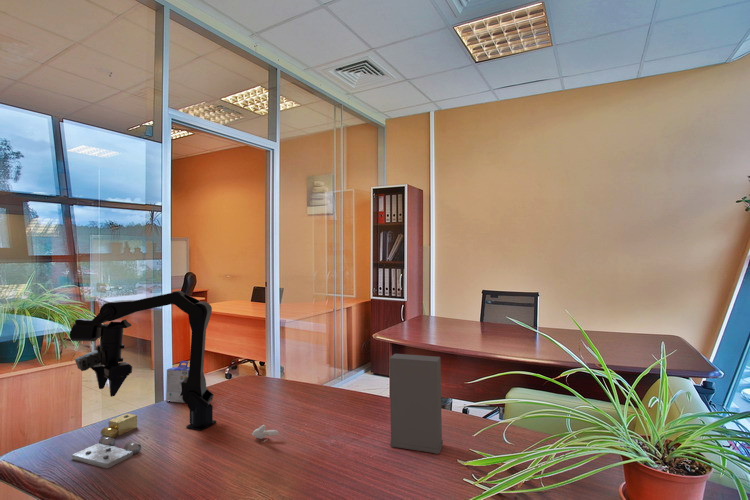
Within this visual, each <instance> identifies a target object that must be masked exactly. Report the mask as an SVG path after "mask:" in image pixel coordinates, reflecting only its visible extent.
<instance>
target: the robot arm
mask: <svg viewBox="0 0 750 500" xmlns="http://www.w3.org/2000/svg"><path fill="white" fill-rule="evenodd" d="M169 305H175V306H176V307H177V308H178V309H179V310H180V311H181V312H183V313H186V314H187V315H188V323H189V327H190V329H191V335H190V336H191V338H190V351H189V352H190V353H189V354H190V355H189V364H188V365H189V366H188V367H189V376H188V377H187V378H186V379H185V380H184V381H183V382H182V383H181V387H182V392H181V394H180V396H182V395H183V396H182V399H183V402H185V404H186V405H187V407H188V409H189V424H187V425H186V429H192V430H197V431H203V430H205V429H207V428H209V427H211V426H213V425H214V424H216V423H217V420H214V419H213V410H214V409H213V405H212V401H213V399H214V395H215V394H214V393H213V392H212V391H210V390H209V389H208V388H207V381H206V377H205V373H204V367H205V365H204V364H205V353H206V352H205V351H206V339H207V338H206V335H207V328H208V326H209V322H210V320H211V315H212V310H213V307H212V305H211V304H210V303H209V302H208V301H200V300H199V299H197V298H195V297H193V296H191V295H188V294H186V293H185V292H184V291H181V290H175V291H172V292H170V293H164V294H160V295H155V296H150V297H146V298H145V297H144V298H140V299H124V300H123V299H122V300H120V299H119V300H115V301H110V302H105V303H104V304H102V306H100V310H99V312H98V313H97V314H96V315H95V317H94V318H92V319H90V318H89V319H87V318H77V319H75V323H74V324H73V325H72V327H71V329H70V331H69V338H70V341H71V342H96V341H97V340H98V339H99V344H97V345H96V346H95V350H93V351H91V352H87V353H84V354H82V355H80V356H77V357H76V358H74V361H75V363H76V366H77V369H78V370H80V371H81V372H85V371H87V370H89V369H91V370H92V371H93V372H95V376H96V380H97V385H98V386H97V387H98V389H99V390H102V389H104V388H105V386H106V384H107V381H108V385H109V396H110V397H115V396H116V395H117V393H118V391H119V390H120V388H121V387H122V385H123V383H124V382H125V380H126V379H127V378H128V376H130V374H132V373H133V366H132V365H131V364H130V363H127V362H126V361H124V357H122V350H123V349H125V344H123V337H124V329H128V328H129V327H132V323H130V322H129V321H128V320H127V319H122V318H124V317H127V316H130V315H132V314H134V313H137V312H143V311H146V310H152V309H156V308H160V307H165V306H169ZM119 319H122V320H121V321H116V320H119ZM106 322H109V323H108V324H107V323H106ZM105 323H106V324H105Z"/></svg>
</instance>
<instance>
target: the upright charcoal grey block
mask: <svg viewBox="0 0 750 500" xmlns="http://www.w3.org/2000/svg"><path fill="white" fill-rule="evenodd" d="M441 365H442V364H441V356H433V355H432V356H431V355H421V354H420V355H419V354H408V353H407V354H406V353H394V354H392V355H391V356H390V357H389V397H390V401H389V402H390V403H389V404H390V407H389V408H390V441H389V442H390V443H389V445H390V447H391V448H399V449H407V450H410V451H412V450H413V451H418V452H426V453H431V454H434V455H439V454H440V453H441V451H442V447H443V444H444V439H443V436H442V435H443V432H442V431H443V430H442V427H443V426H442V425H443V424H442V379H441V378H442V375H441V374H442V371H441V367H442V366H441Z"/></svg>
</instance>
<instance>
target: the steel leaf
mask: <svg viewBox="0 0 750 500" xmlns="http://www.w3.org/2000/svg"><path fill="white" fill-rule="evenodd" d="M114 445H116V439H115V438H111V437H106V436H102V437H101V438H100V439H99V440H98V443H95V444H94V445H91V446H88V447H87V448H84V449H82V450H79V451H77V452H75V453H73V454H71V460H73V461H78V462H81V463H85V464H89V465H92V466H96V467H99V468H103V469H105V470H106V469H109V468H111V467H113V466H116V465H117V464H119V463H121V462H123V461H125V460H128V459H130V458H132V457H133V456H134V455H136V454H137V455H138V453H140V452H141V450H142V445H141V444H139V443H135V442H131V441H129V442H127V443H126V444H125V445H124V447H123V448H121V447H117V446H114Z"/></svg>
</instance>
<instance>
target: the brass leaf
mask: <svg viewBox="0 0 750 500" xmlns="http://www.w3.org/2000/svg"><path fill="white" fill-rule="evenodd" d="M137 428H138V415H137V414H134V413H129V412H128V413H124V414H122V415H120V416H117V417H114V418H112V419H109V420H108V426H104V427H103V428H102V429H101V431H100V435H101V436H102V437H109V438H114V439H115V438H116V437H119V436H121V435H124V434H126V433H128V432H130V431H133V430H135V429H137Z"/></svg>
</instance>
